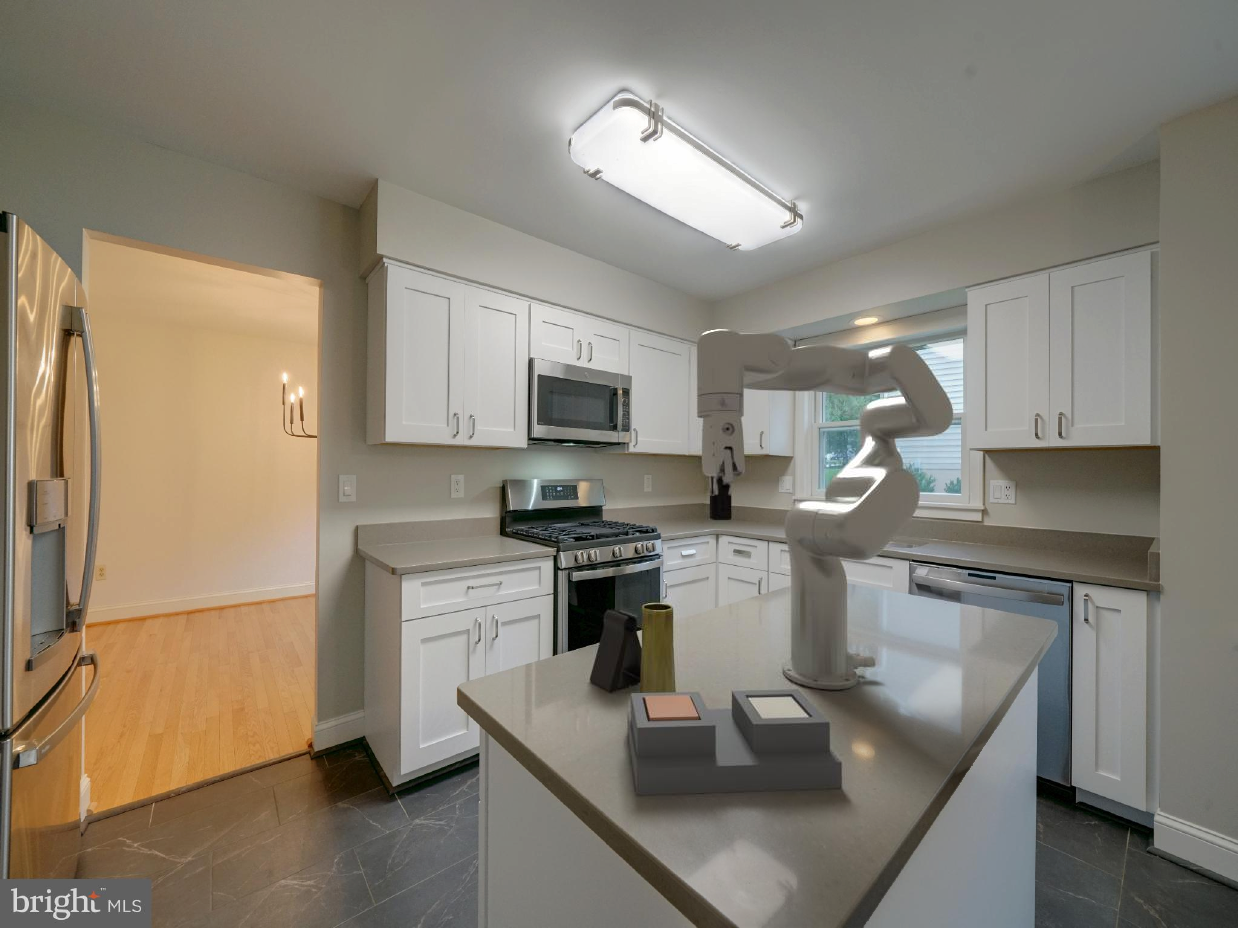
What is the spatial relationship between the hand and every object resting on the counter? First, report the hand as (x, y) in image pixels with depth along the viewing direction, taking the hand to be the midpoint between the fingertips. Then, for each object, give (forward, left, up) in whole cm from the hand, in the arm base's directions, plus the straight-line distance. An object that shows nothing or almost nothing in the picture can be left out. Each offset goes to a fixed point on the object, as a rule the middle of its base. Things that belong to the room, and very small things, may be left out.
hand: (720, 519), depth 83 cm
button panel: (+4, +17, -29) cm, 34 cm away
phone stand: (+16, -8, -29) cm, 34 cm away
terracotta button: (+11, +17, -25) cm, 32 cm away
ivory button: (-3, +17, -26) cm, 31 cm away
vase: (+10, -3, -29) cm, 31 cm away
